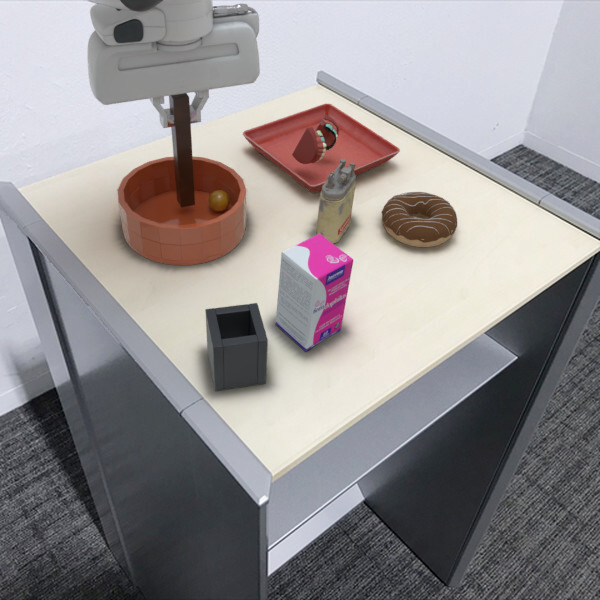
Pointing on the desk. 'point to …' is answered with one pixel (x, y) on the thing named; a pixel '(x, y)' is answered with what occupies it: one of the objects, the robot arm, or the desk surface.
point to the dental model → (316, 141)
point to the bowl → (181, 212)
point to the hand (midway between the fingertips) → (180, 123)
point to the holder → (236, 346)
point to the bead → (219, 200)
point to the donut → (419, 232)
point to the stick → (182, 149)
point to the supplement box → (312, 291)
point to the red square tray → (350, 146)
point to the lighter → (336, 202)
